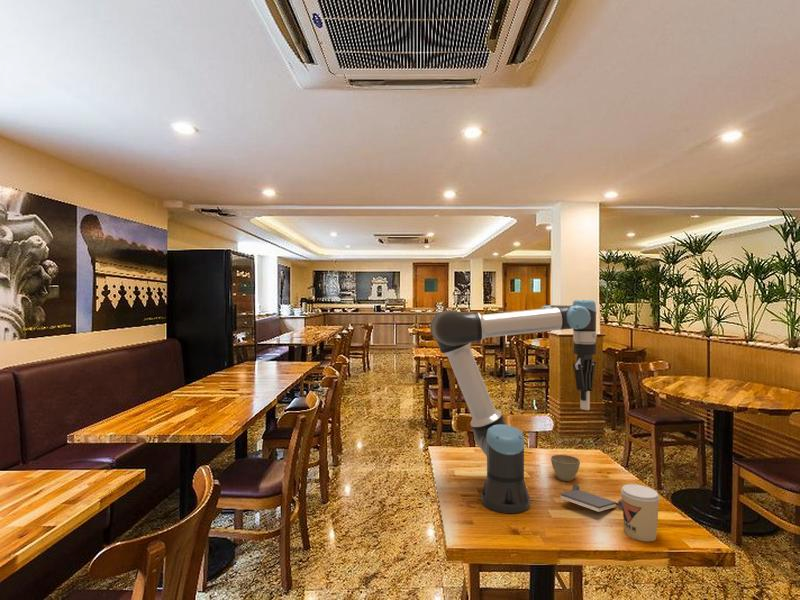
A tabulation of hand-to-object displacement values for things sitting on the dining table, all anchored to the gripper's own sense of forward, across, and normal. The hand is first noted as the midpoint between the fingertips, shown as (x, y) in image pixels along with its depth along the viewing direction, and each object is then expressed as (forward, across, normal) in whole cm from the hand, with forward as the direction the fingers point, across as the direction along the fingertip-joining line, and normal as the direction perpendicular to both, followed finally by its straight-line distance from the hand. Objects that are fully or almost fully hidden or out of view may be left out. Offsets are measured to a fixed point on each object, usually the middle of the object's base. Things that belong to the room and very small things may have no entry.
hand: (585, 409), depth 155 cm
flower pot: (+27, -1, +7) cm, 28 cm away
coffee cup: (+27, -22, -26) cm, 43 cm away
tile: (+23, -17, -9) cm, 30 cm away
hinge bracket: (+26, -10, -9) cm, 30 cm away
